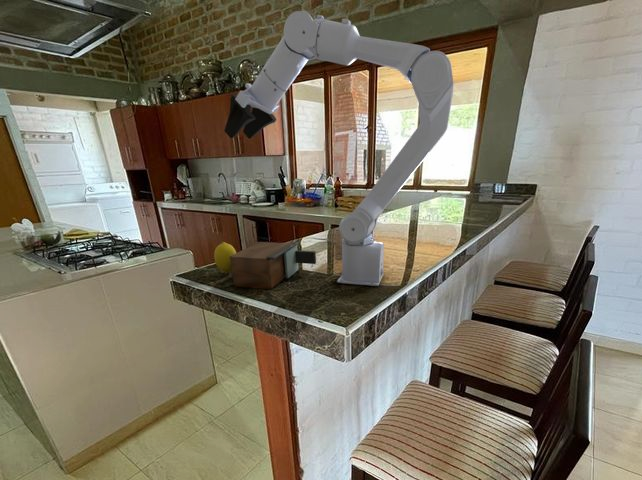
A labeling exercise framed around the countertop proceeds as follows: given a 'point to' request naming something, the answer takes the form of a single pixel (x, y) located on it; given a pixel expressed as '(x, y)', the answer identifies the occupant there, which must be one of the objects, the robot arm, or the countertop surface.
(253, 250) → the cabinet
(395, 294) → the countertop surface
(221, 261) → the lemon
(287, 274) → the sliding door
